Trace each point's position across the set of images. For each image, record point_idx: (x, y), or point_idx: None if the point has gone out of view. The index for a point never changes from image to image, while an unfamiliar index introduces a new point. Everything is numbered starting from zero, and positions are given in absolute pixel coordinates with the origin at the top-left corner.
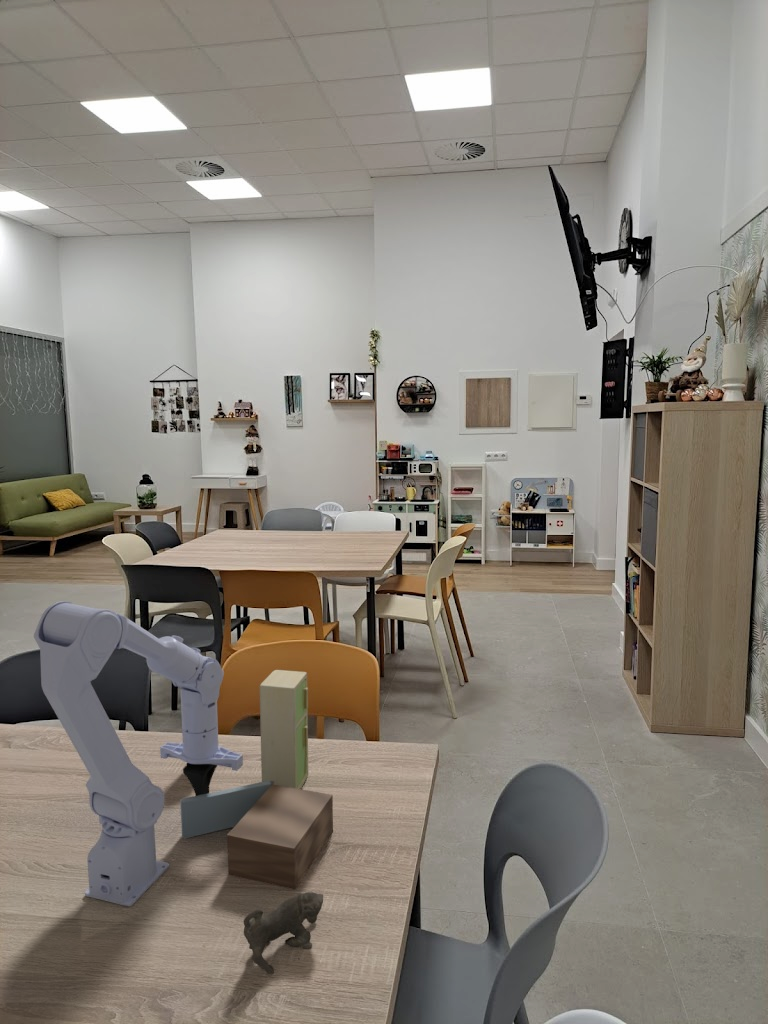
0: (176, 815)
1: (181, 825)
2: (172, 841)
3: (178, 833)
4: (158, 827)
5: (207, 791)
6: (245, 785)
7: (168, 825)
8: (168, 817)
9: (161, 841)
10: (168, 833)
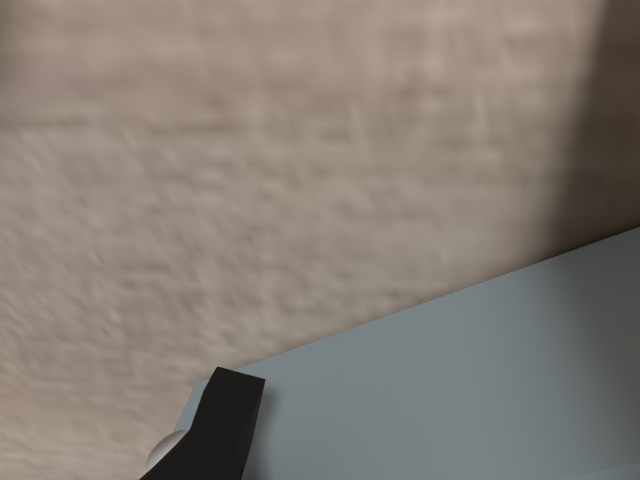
0: (65, 204)
1: (178, 427)
2: (174, 410)
3: (170, 357)
4: (39, 311)
5: (243, 443)
6: (627, 469)
7: (79, 295)
8: (32, 225)
9: (123, 408)
10: (120, 356)
